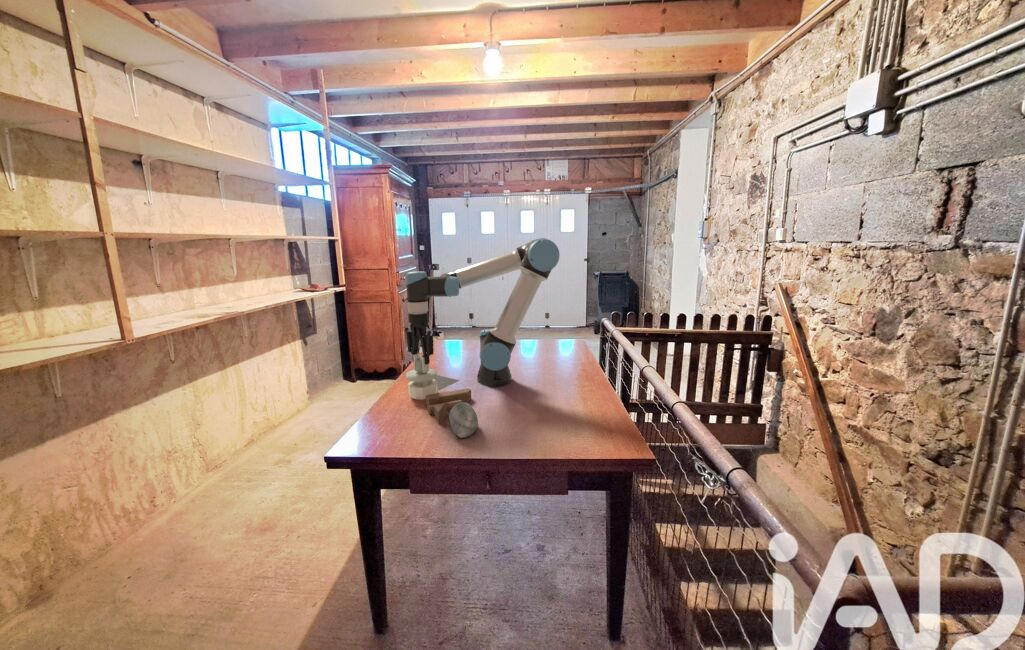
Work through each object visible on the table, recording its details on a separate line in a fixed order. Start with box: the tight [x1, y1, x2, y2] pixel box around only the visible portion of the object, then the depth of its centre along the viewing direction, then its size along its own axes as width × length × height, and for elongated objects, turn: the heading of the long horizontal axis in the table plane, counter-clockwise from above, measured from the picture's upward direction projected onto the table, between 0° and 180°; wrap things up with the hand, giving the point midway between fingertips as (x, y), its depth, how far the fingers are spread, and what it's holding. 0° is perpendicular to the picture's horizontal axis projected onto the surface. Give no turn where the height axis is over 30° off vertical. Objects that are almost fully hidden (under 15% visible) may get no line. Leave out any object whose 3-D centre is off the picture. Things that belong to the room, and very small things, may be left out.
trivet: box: [435, 374, 461, 391], centre depth 167 cm, size 13×13×1 cm
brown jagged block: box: [425, 388, 472, 425], centre depth 139 cm, size 17×6×18 cm
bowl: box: [407, 379, 439, 400], centre depth 153 cm, size 11×11×5 cm
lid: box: [405, 357, 438, 382], centre depth 152 cm, size 12×12×7 cm
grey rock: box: [448, 402, 479, 439], centre depth 123 cm, size 14×10×10 cm
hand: (421, 370), depth 152 cm, fingers closed on lid, 4 cm apart
